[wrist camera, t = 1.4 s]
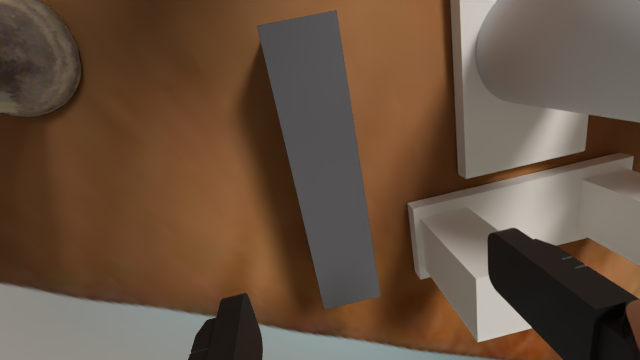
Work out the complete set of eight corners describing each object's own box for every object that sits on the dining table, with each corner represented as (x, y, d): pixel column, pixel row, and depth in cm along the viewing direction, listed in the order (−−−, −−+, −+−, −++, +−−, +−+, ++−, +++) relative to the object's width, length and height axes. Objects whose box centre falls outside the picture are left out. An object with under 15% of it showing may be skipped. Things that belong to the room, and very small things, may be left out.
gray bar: (262, 36, 21) (256, 25, 16) (321, 25, 21) (336, 10, 16) (315, 260, 28) (324, 309, 22) (359, 249, 28) (380, 296, 22)
